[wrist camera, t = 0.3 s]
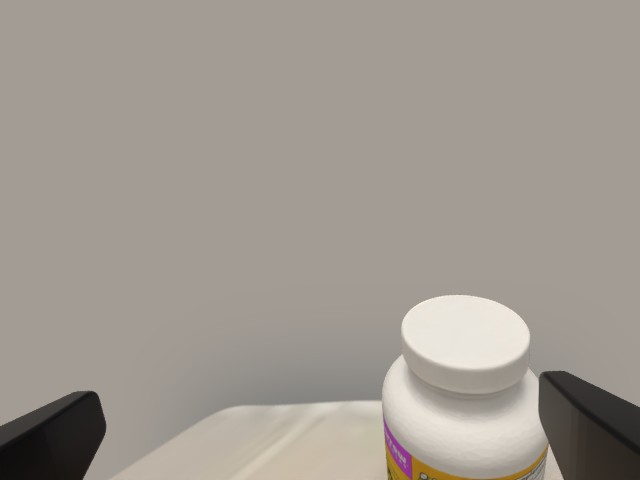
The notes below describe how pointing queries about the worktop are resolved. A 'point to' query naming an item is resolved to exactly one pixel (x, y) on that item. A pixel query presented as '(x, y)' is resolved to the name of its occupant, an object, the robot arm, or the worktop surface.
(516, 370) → the supplement bottle
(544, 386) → the robot arm
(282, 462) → the worktop surface
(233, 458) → the worktop surface
